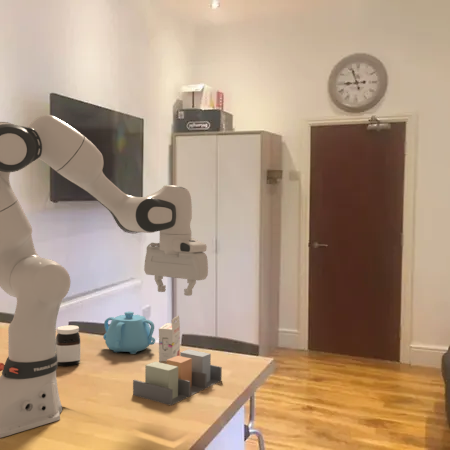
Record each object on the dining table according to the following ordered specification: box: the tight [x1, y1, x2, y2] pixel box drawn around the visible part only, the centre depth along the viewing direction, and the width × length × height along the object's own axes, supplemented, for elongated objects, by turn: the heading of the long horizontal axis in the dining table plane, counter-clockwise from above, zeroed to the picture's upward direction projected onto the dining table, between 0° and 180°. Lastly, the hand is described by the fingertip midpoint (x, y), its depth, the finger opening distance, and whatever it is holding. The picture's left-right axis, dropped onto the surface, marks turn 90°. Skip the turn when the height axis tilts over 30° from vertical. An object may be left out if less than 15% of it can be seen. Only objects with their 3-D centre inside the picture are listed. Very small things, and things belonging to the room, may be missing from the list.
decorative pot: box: [103, 311, 156, 355], centre depth 192 cm, size 16×16×14 cm
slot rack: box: [132, 364, 223, 406], centre depth 151 cm, size 23×13×5 cm, turn 147°
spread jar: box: [55, 324, 81, 367], centre depth 176 cm, size 12×11×12 cm
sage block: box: [144, 361, 178, 399], centre depth 145 cm, size 4×8×8 cm, turn 57°
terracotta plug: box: [166, 355, 192, 387], centre depth 151 cm, size 5×5×8 cm
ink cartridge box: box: [158, 314, 181, 363], centre depth 180 cm, size 9×5×15 cm, turn 168°
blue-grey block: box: [179, 348, 212, 382], centre depth 157 cm, size 4×8×8 cm, turn 57°
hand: (174, 293), depth 151 cm, fingers open, 8 cm apart
